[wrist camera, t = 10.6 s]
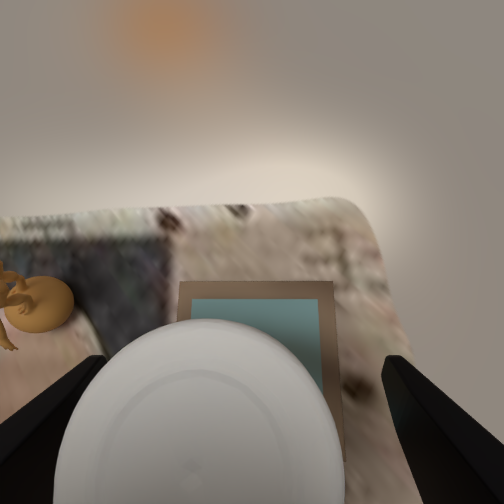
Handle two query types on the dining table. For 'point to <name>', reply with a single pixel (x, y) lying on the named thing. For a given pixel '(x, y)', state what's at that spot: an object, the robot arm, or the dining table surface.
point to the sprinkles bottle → (201, 424)
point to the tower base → (284, 294)
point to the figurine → (33, 304)
